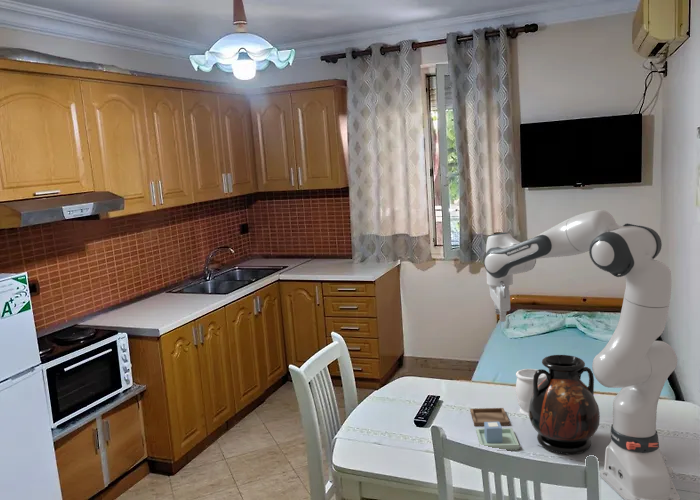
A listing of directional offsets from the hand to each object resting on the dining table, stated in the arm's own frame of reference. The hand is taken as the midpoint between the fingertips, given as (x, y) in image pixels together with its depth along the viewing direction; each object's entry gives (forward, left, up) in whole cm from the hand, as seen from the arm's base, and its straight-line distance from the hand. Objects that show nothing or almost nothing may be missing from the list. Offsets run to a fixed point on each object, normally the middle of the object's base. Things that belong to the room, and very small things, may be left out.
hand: (500, 317), depth 204 cm
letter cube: (-17, +6, -37) cm, 41 cm away
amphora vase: (-20, -16, -38) cm, 45 cm away
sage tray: (-18, +5, -37) cm, 42 cm away
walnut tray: (-1, +5, -37) cm, 38 cm away
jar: (+4, -11, -38) cm, 39 cm away
